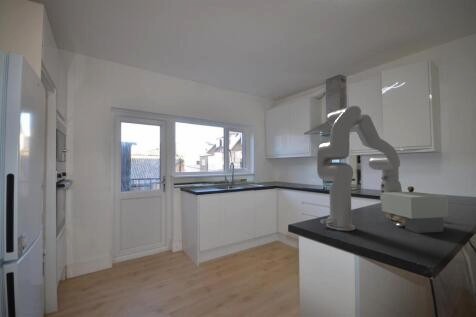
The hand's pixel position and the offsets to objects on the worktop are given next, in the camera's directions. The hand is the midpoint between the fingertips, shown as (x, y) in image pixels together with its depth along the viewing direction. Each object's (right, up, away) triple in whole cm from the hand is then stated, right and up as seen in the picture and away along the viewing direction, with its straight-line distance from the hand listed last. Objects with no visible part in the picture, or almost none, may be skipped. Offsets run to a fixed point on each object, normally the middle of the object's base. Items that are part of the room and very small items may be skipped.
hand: (390, 211), depth 119 cm
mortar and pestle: (+16, -5, +5) cm, 17 cm away
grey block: (0, -4, -15) cm, 15 cm away
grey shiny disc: (-3, -4, -12) cm, 13 cm away
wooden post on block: (+1, -4, -7) cm, 8 cm away
